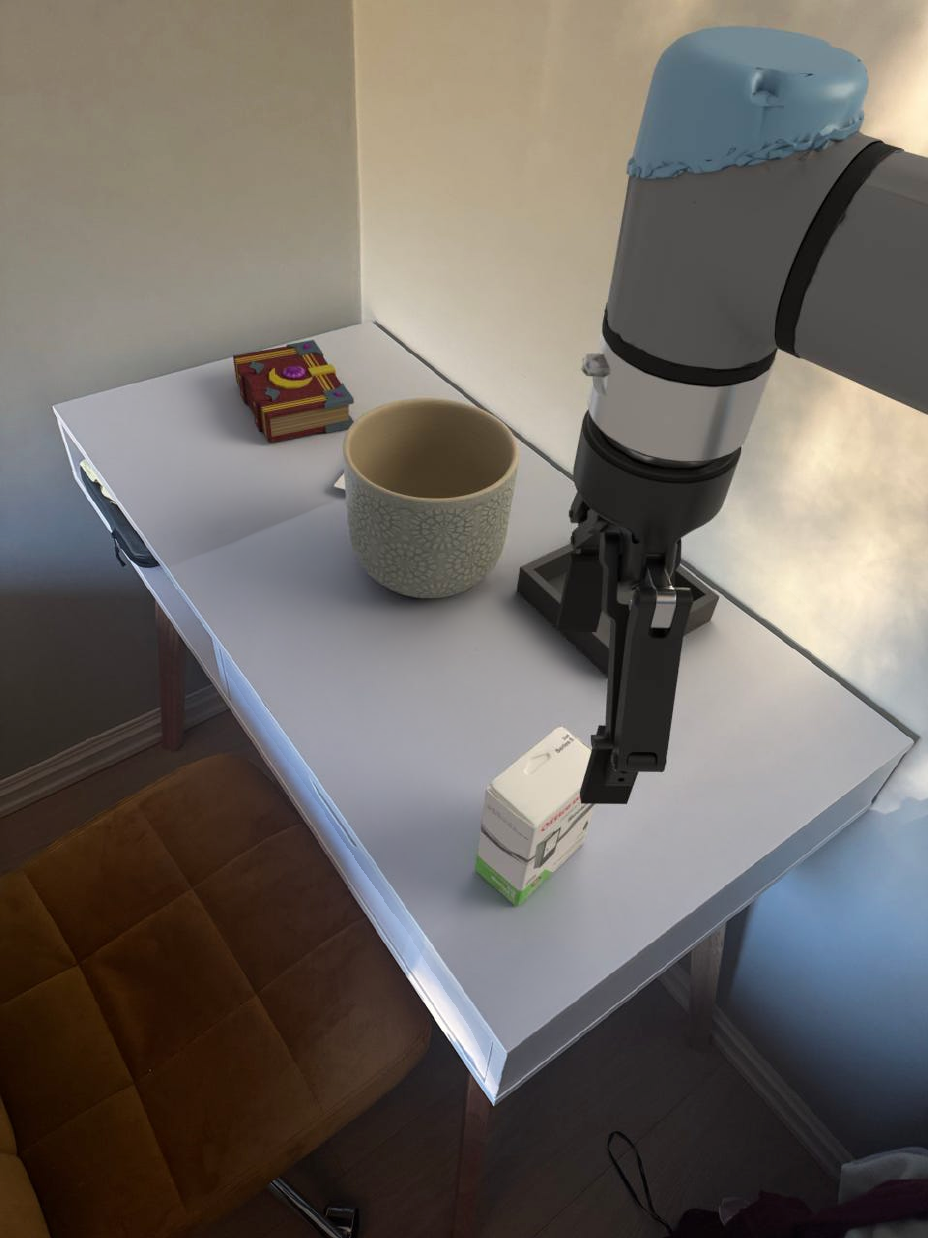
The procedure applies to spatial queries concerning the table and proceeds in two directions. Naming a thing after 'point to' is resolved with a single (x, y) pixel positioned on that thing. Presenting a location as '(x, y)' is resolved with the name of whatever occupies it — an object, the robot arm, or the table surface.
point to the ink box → (534, 816)
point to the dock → (545, 591)
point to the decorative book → (292, 391)
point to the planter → (429, 494)
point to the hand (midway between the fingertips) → (588, 706)
